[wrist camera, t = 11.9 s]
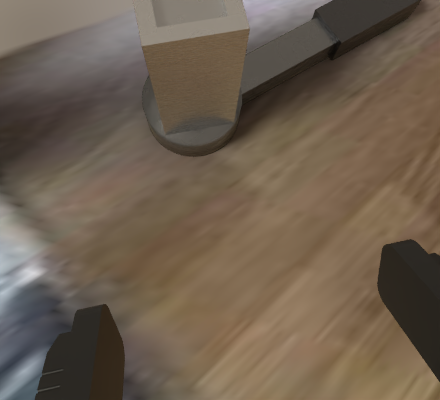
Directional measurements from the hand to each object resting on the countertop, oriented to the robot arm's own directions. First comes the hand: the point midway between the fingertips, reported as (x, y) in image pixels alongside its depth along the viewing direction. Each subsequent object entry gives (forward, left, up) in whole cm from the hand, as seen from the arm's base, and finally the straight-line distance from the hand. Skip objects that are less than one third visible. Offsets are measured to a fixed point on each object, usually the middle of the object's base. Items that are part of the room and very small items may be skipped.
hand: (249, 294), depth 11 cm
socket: (-10, -9, -13) cm, 18 cm away
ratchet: (-17, -6, -15) cm, 24 cm away
